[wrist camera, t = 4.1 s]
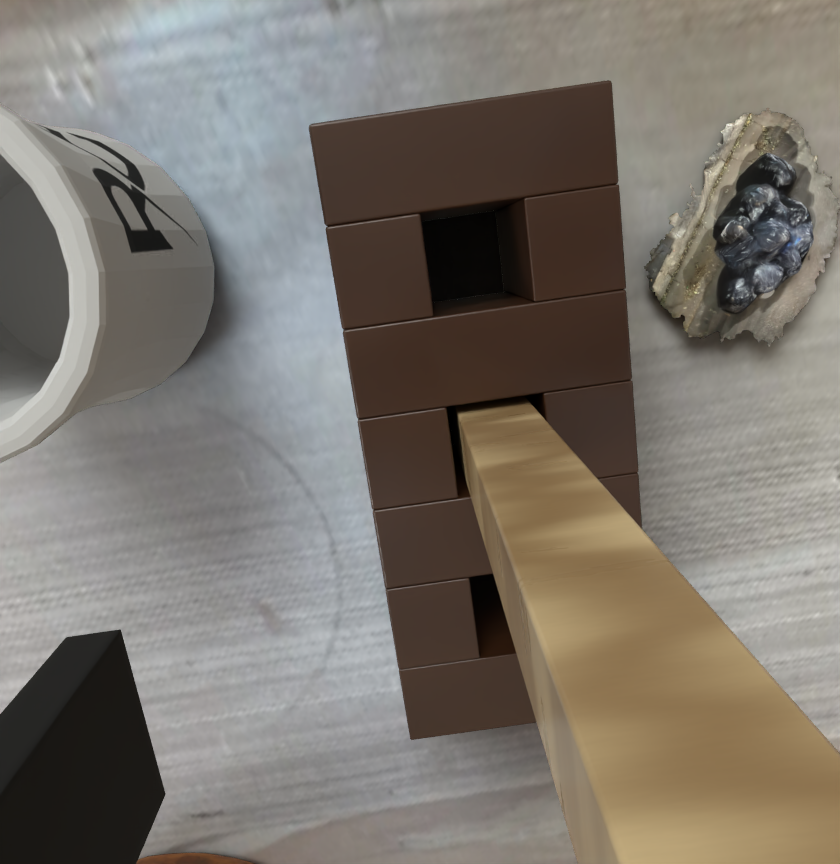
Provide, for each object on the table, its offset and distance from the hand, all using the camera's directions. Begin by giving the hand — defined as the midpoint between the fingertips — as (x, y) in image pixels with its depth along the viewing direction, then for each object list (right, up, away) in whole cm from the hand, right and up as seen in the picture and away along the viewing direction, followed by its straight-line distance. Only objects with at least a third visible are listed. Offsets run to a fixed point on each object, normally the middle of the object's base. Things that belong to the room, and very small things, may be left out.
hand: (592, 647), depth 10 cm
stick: (0, +4, +17) cm, 17 cm away
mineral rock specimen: (+9, +10, +15) cm, 21 cm away
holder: (0, +4, +17) cm, 17 cm away
